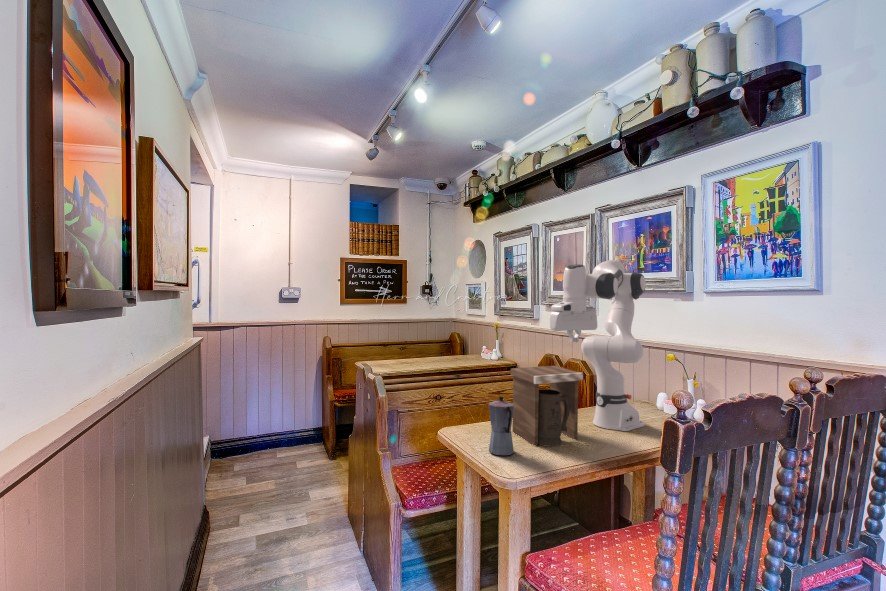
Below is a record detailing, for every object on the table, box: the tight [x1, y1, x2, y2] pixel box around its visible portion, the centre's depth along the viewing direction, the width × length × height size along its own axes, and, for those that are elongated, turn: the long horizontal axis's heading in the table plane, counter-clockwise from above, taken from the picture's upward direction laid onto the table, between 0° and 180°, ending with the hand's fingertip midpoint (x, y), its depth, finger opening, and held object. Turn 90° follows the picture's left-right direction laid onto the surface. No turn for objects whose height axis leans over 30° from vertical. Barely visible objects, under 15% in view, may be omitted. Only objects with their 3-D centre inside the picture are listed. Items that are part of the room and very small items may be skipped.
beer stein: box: [538, 388, 570, 447], centre depth 163 cm, size 15×11×20 cm
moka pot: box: [488, 396, 515, 456], centre depth 150 cm, size 10×15×20 cm, turn 19°
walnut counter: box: [510, 365, 584, 446], centre depth 168 cm, size 22×18×27 cm
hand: (573, 342), depth 161 cm, fingers closed
